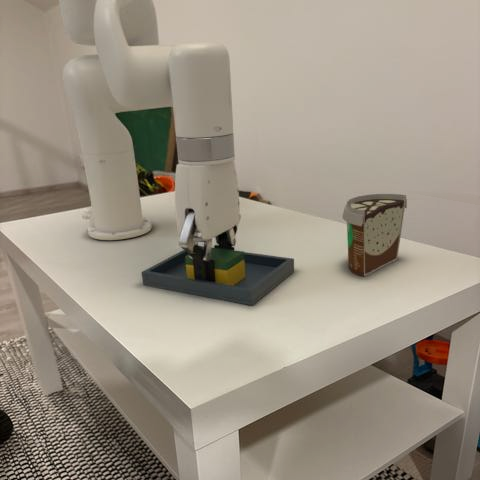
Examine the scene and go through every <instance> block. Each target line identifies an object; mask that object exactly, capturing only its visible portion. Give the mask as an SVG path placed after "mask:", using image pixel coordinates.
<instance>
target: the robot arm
mask: <svg viewBox="0 0 480 480" xmlns="http://www.w3.org/2000/svg"><path fill="white" fill-rule="evenodd" d="M58 3H59V9H60V15H61V19H62V23H63V24H62V25H63V28H64V31H65V33H66V36H67V37H68V39H69V40H70V41H72V42H73V43H75V44H77V45H80V46H81V45H82V46H93V47H95V49H96V52H97V53H96V54H83V55H79V56H76V57H74V58H72V59H70V60H69V61H68V62H67V63H66V64H65V65H64V67H63V72H62V82H63V87H64V92H65V93H66V97H67V100H68V103H69V106H70V109H71V112H72V115H73V119H74V122H75V126H76V131H77V135H78V140H79V146H80V151H81V155H82V160H83V161H82V162H83V167H84V171H85V178H86V183H87V189H88V194H89V200H90V206H91V207H87V208H86V209H85V211H83V212H82V213H81V217H82V219H83V220H90V226H88V228H87V234H88V236H89V237H90V238H92V239H95V240H100V241H117V240H118V241H119V240H127V239H132V238H136V237H140V236H142V235H145V234H147V233H149V232H150V231H151V230H152V228H153V226H152V225H153V224H152V221H150V220H149V219H147V218H144V216H143V209H142V208H143V207H142V201H141V194H140V186H139V179H138V172H137V165H136V157H135V150H134V144H133V138H132V135H131V134H130V131H129V130H128V128H126V126H125V125H124V124H123V122H121V120H120V119H119V118H118V117H117V115H116V114H118V113H124V112H125V113H126V112H134V111H136V112H137V111H143V110H144V111H145V110H151V109H160V108H161V109H162V108H172V109H173V110H172V111H173V121H174V131H175V142H176V151H177V158H178V159H177V160H178V163H177V164H176V167H175V178H174V204H175V206H174V207H175V222H176V223H175V224H176V232H177V236H178V237H179V240H178V247H180V248H181V249H182V250H185V251H186V252H187V253H188V254H189V255H190V259H193V268H194V278H195V279H197V280H203V281H209V282H214V283H215V270H214V260H213V259H210V258H211V247H213V248H220V249H228V250H235V246H236V244H237V238H236V235H237V232H238V227H239V224H240V222H241V218H242V215H241V205H240V192H239V191H240V190H239V182H238V175H237V169H236V162H235V160H236V154H235V153H236V152H235V133H234V120H233V119H234V118H233V117H234V116H233V98H232V80H231V78H232V77H231V61H230V53H229V51H228V48H227V47H226V45H224V44H222V43H220V42H214V41H213V42H212V41H209V42H207V41H206V42H190V43H189V42H188V43H181V44H171V45H170V44H160V40H159V39H160V37H159V28H158V27H159V25H158V19H157V12H156V8H155V4H154V2H153V0H58ZM199 234H200V236H199ZM214 238H215V242H216V244H215V245H213V239H214ZM199 243H203V246H204V249H202V248H201V247H200V246H201V245H199ZM212 245H213V246H212Z"/></svg>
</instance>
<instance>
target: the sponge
mask: <svg viewBox="0 0 480 480" xmlns="http://www.w3.org/2000/svg"><path fill="white" fill-rule="evenodd" d="M202 246H203V247H202V249H204V245H202ZM244 252H245V251H242V250H228V249H220V248H214V246H212V247H211V258H210V259H213V260H214V270H215V283H220V284H226V285H232V286H234V285H235V284H236V283H238V282H239V281H241V280H242V279H243V278H245V261H244ZM185 261H186V271H187V278H191V279H195V278H194V268H193V259H190V255H187V256H185Z"/></svg>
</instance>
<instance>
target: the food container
mask: <svg viewBox="0 0 480 480" xmlns="http://www.w3.org/2000/svg"><path fill="white" fill-rule="evenodd" d="M407 208H408V199H407V194H401V193H371V194H363V195H358V196H354V197H352V198H349V199H347V201H346V204H345V205H344V207H343V212H342V220H344V221H345V222H346V233H347V234H346V235H347V260H348V261H347V262H348V270H350V272H352V273H353V274H355V275H357V276H360V277H363V278H364V277H367V276H368V275H370V274H372V273H374V272H376V271H378V270H380V269H382V268H384V267H386V266H387V265H390V264H392V263H393V262H395V261H397V260H398V258H399V257H398V256H399V250H400V243H401V238H402V237H401V235H402V230H403V224H404V223H403V221H404V215H405V209H407Z"/></svg>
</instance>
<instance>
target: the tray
mask: <svg viewBox="0 0 480 480" xmlns="http://www.w3.org/2000/svg"><path fill="white" fill-rule="evenodd" d="M199 246H200V247H201V248H202V247H203V246H204V245H199ZM243 252H244V261H245V278H243V279H242V280H241V281H239V282H238V283H236V284H235V285H234V286H232V285H226V284H220V283H214V282H209V281H203V280H197V279H191V278H187V271H186V261H185V256H187V255H189V254H188V253H187V252H186V251H185V250H184V249H182V250H181V251H178V252H177V253H175V254H173V255H171V256H169V257H167V258H165V259H163V260H162V261H160V262H158V263H156V264H153V265H152V266H151V267H148V268H146V269H144V270H143V271H141V278H142V285H143V286H147V287H153V288H157V289H163V290H168V291H173V292H178V293H183V294H188V295H194V296H199V297H204V298H210V299H215V300H221V301H226V302H231V303H235V304H236V303H237V304H241V305H248V306H254V305H255V304H256V303H258V302H259V301H260V300H262V298H263V297H265V296H266V295H267V294H269V293H270V292H271V291H272V290H274V289H275V288H276V287H277V286H278V285H279V284H281V283H282V282H283V281H284V280H286V279H287V278H288V277H289V276H291V275H292V274H293V273H294V272H295V258H294V257H293V258H292V257H284V256H277V255H270V254H262V253H255V252H247V251H243Z"/></svg>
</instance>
